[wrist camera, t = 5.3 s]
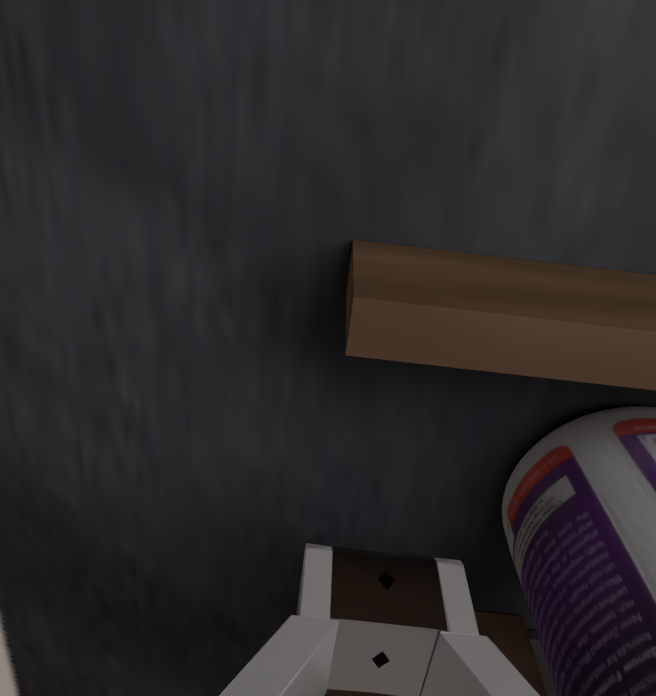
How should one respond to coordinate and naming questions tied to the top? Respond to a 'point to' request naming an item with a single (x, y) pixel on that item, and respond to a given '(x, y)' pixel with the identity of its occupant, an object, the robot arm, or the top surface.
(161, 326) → the top surface
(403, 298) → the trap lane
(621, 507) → the pill bottle
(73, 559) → the top surface
